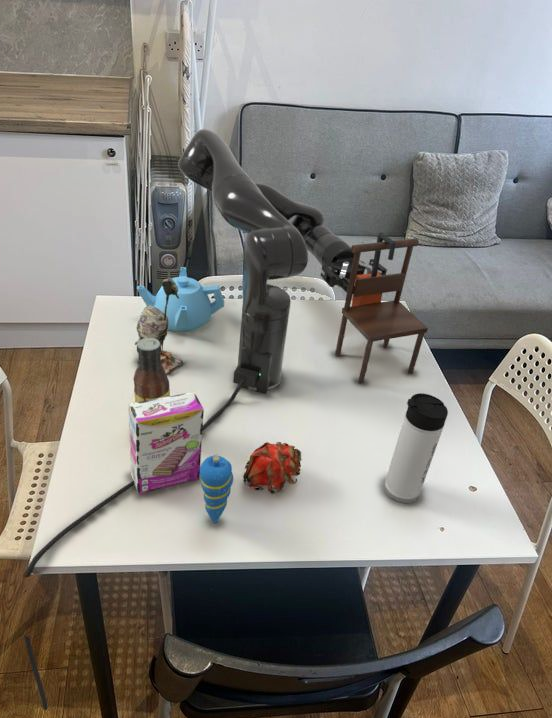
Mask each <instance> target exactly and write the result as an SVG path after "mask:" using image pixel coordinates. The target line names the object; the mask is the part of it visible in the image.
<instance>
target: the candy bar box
mask: <svg viewBox="0 0 552 718" xmlns="http://www.w3.org/2000/svg"><path fill="white" fill-rule="evenodd" d="M204 412H205V409H204V407H203V405H202V403H201V402H200V400H199V397H198V396H197V394H196V392H195V391H191V392H185V393H180V394H174V395H170V396H169V397H163V398H158V399H152V400H147V401H142V402H136V403H135V402H131V403H128V427H129V448H130V449H129V455H130V475H131V479H132V481H133V480H134V483H135V485H134V487H135V489H136V492H137V494H138V495H142V494H145V493H149V492H155V491H158V490H161V489H165V488H169V487H174V486H177V485H181V484H186V483H190V482H193V481H198V480H200V478H201V477H200V467H201V461H202V444H203V443H202V440H203V432H202V429H203V425H204Z"/></svg>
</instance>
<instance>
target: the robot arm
mask: <svg viewBox="0 0 552 718" xmlns="http://www.w3.org/2000/svg"><path fill="white" fill-rule="evenodd" d="M177 166H178V169H179V171H180V172H181V173H182V174H183V175H184V176H185V177H186V178H187V179H188V180H189V181H191V182H193V183H195V184H196V185H198V186H200V187H202V188H204V189H206V190H208V191H211V195H212V197H211V198H212V201H213V203H214V205H215V208H216V209H217V211H218V212H219V213H220V215H221V216H222V218H223V219H224V221H226V222H227V224H229V225H230V226H232V227H233V228H234V229H237V230H239V231H241V232H243V233H245V234H246V236H245V238H244V243H243V252H242V253H243V254H242V308H241V309H242V310H241V321H240V332H239V333H240V334H239V345H238V355H237V356H238V357H237V366H236V368H235V369H234V371H233V382H232V383H234V384H237V387H235V389H234V390H233V392H232V395H231V396H230V398H229V399H228V400H227V402H225V404H224V405H223V406H222V407H221V408H220V409H219V410H218V411H216V413H215V414H213V415H212V416H211V417H210V418H209V419H208V420H207V421H206V422H205V423H203V429H202V433H203V432H204V431H205V430H206V429H207V428H208V427H209V426H210V425H211V424H212V423H213V422H215V420H216V419H217V418H219V417H220V416H221V415H222V414H223V412H225V410H226V409H227V408H228V407H229V406H230V405H231V404H232V403H233V402H234V400H235V399H236V397H237V395H238V394H239V392H240V391H241V389H245V390H249V391H252V392H256V393H260V394H264V395H266V394H268V392H271V391H272V390H275V389H276V388H278V387H279V386H280V384H281V382H282V372H283V371H282V370H283V363H284V356H285V355H284V354H285V348H286V340H287V333H288V325H289V319H290V311H291V304H292V303H291V301H292V300H291V296H290V295H289V293H288V292H287V291H286V290H285V289H283V288H281V287H279V286H277V285H274V284H270V283H268V281H271V280H281V279H282V280H283V279H288V278H294V277H296V276H298V275H300V274H302V273H303V272H304V271H305V269H306V268H307V266H308V262H309V253H310V254H311V255H312V256H313V257H314V258H315V259H316V260H317V262H318V263H319V264H320V265H321V269H320V277H321V278H322V279H323V281H324V282H325V283H326V284H327V286H329V287H330V288H334V287H335V286H337V287H338V288H339V289H340V288H341V289H342V290H343V291H344V292H345V293H347V290H348V285H349V280H350V275H351V270H352V265H353V259H354V254H355V253H352V251H351V247H352V246H350V245H349V244H348V243H347V242H346V241H345V240H343V239H342V238H341V237H339V236H338V235H336V234H335V233H334V232H333V231H332V230H330V228H328V227H327V226H325V225H324V224H325V216H324V214H323V212H322V211H321V210H320V209H319V208H318V207H315V206H313V205H310V204H306V203H302V202H298V201H296V200H293V199H291V198H289V197H288V196H286V195H284V194H283V193H281V192H280V191H278V190H277V189H275V188H274V187H272V186H270V185H268V184H264V183H258V182H255V181H254V180H253V179H252V178H251V176H249V175H248V174H247V172H246V171H245V170H244V169H243V168H242V166H241V165H240V164H239V162H238V161H237V159H236V157H235V155H234V153H233V152H232V150H231V148H230V147H229V145H228V144H227V143H226V142H225V141H224V139H223V138H222V137H221V136H219V134H217V133H216V132H214V131H212V130H210V129H206V128H202V129H199V130H198V131H197V132H196V133H194V135H193V136H192V138H191V139H190V141H189V143H188V145H187V146H186V148H185V149H184V150H183V152H182V154H181V156H180V157H179V159H178V161H177ZM290 219H292V220H291V222H290ZM308 252H309V253H308ZM373 261H374V258H370V259H369V261H368V262H365V261H362V260H359V265H358V270H357V275H362V274H365V271H366V274H370V273H372V267H373ZM387 272H388V269H387V268H386V267H385V266H384V265H382V264H381V263H379V266H378V271H377V273H379V274H381V275H387ZM354 289H355V285H354ZM354 289H353V294H354ZM353 294H352V295H353ZM133 487H135V483H134V480H133V479H132V480H131V482H129V483H127V484H126V485H124V486H123V487H122V488H120V489H119V490H117V491H116V492H114V493H113V494H111V495H110V496H108V497H107V498H105V499H104V500H102V501H101V502H100V503H98V504H96V506H93V508H91V509H90V510H88V511H87V512H86V513H84V514H83V515H82V516H80V517H79V518H77V519H76V520H75V521H73V522H72V523H71V524H69V525H67V526H66V527H65V528H63V529H62V530H61V531H60V532H59V533H57V534H56V535H55V536H54V537H53V538H52V539H51V540H50V541H49V542H48V543H46V544H45V545H44V546H43V547H42V548H41V549H40V550H39V551H38V552H37V553H36V554H35V555H34V557H33V558H32V560H31V561H30V563H29V564H28V566H27V568H26V570H25V572H24V578H25V579H27V578H29V577H30V576H31V574H32V573H33V572H32V571H33V570H34V568H35V566H36V565H37V563H38V562H39V560H40V559H41V558H42V557H43V556H44V555H45V554H46V553H47V552H48V551H49V550H50V549H51V548H52V547H54V546H55V545H56V543H57V542H59V541H60V540H61V539H62V538H63V537H65V536H66V535H67V534H68V533H69V532H71V531H73V529H75V528H76V527H78V526H79V525H80V524H82V523H83V522H85V521H86V520H87V519H88V518H90V517H91V516H92V515H94V514H95V513H97V512H98V511H99V510H101V509H103V508H104V507H105V506H107V505H108V504H109V503H111V502H112V501H114V500H115V499H117V498H118V497H120V496H121V495H123V494H124V493H126V492H127V491H128V490H130V489H131V488H133ZM23 637H24V642H25V649H26V652H27V657H28V659H29V663H30V667H31V669H32V673H33V676H34V679H35V682H36V686H37V689H38V693H39V697H40V700H41V705H42V708H43V710H44V711H47V710H48V709H49V708H48V701H47V698H46V694H45V690H44V685H43V683H42V680H41V676H40V672H39V668H38V665H37V663H36V659H35V655H34V652H33V647H32V643H31V637H30V636H28V635H25V634H24V635H23Z"/></svg>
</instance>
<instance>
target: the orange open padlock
mask: <svg viewBox="0 0 552 718" xmlns="http://www.w3.org/2000/svg"><path fill="white" fill-rule="evenodd" d="M377 242H387V243H388V244H390V249H388V250H389V251H388V256H387V260H389V261H393V260H394V256H395V250H396V248H395V245H396V242H395V240H393V239H392V238H390V237H388V236H387V235H386V234H384V233H383V232H379V233H377V238H376V243H377ZM381 254H382V250H378V251H374V254H373V255H374V256H373V259H374V261H373V267H372V273H370V274H367V273H364V274H362V275H356V280H355V284H354V286H356V281H357V279H359V278H367V277H375V276H382V275H381V274H379V273H377V271H378V266H379V264H380V259H381ZM354 291H355V289H354ZM382 298H383V293H379V294H372V295H365V296H358V297H354V294H352V299H351V305H350V307H352V306H359V305H366V304H373V303H379V302H382Z"/></svg>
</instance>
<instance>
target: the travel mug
mask: <svg viewBox="0 0 552 718" xmlns="http://www.w3.org/2000/svg"><path fill="white" fill-rule="evenodd" d="M406 404H407V409H406V412H405V413H404V417H403V421H402V424H401V428H400V431H399V434H398V437H397V440H396V444H395V446H394V450H393V454H392V457H391V460H390V464H389V467H388V471H387V474H386V477H385V479H384V484H383V489H384V492H385V494H386V495H387V496H388V497H389V498H390V499H392V500H393V501H396V502H398V503H402V504H411V503H414V502H415V501H417V500H418V499H419V497H420V496H421V495H420V494H421V492H422V489H423V486H424V483H425V480H426V477H427V475H428V472H429V470H430V467H431V464H432V460H433V459H434V456H435V453H436V450H437V447H438V444H439V442H440V439H441V436H442V432H443V430H444V427H445V424H446V421H447V419H448V415H449V410H448V407H447V406H446V405H445V403H444V402H443V400H441V399H439V398H438V397H436V396H434V395H431V394H428V393H424V392H423V393H421V392H419V393H415V394H413V395H412V396H411V397H410V398H408V399H407V402H406Z"/></svg>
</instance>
